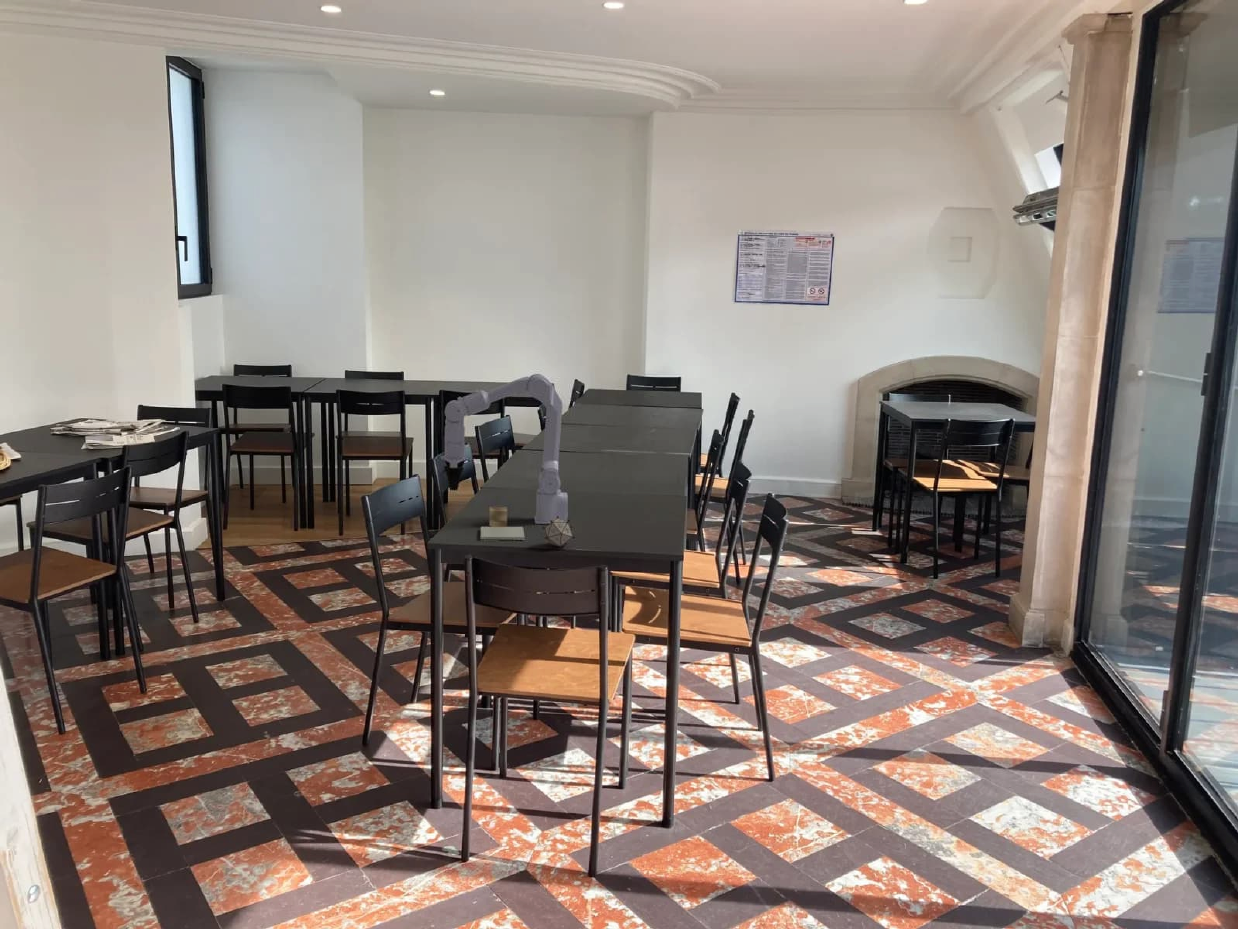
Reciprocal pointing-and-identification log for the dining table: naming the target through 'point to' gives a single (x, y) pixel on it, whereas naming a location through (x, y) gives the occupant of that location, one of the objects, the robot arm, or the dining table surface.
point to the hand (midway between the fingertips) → (454, 487)
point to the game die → (558, 532)
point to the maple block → (498, 516)
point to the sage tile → (502, 533)
